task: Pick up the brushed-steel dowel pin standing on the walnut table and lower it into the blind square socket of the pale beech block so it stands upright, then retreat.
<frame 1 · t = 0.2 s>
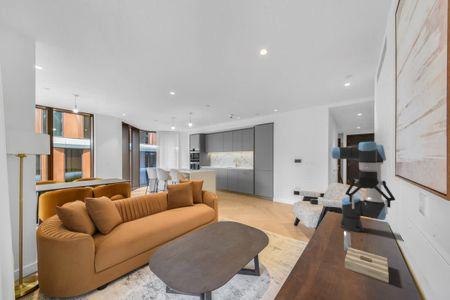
hand: (369, 210, 93), 27 cm above the table, fingers open, 13 cm apart
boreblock: (366, 267, 88), on the table
pin: (347, 251, 103), on the table
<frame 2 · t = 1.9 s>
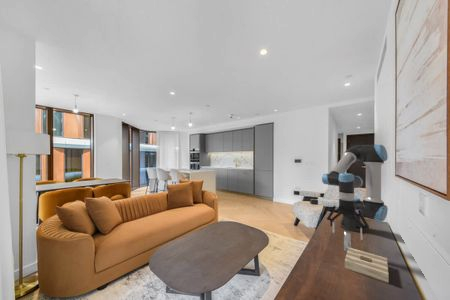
hand: (346, 235, 103), 9 cm above the table, fingers open, 13 cm apart
nothing on the table moved.
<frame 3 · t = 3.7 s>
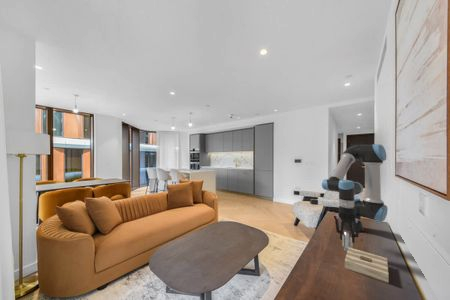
hand: (347, 246, 103), 3 cm above the table, fingers closed on pin, 3 cm apart
pin: (347, 250, 103), on the table, touching gripper
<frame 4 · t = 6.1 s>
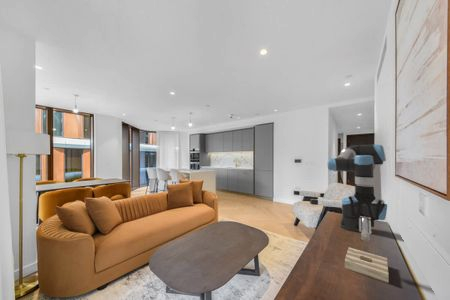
hand: (365, 231, 89), 18 cm above the table, fingers closed on pin, 3 cm apart
pin: (365, 239, 88), point 14 cm above the table, touching gripper
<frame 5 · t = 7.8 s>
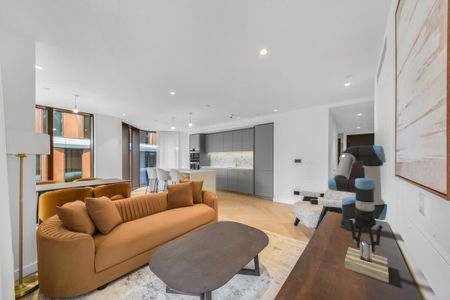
hand: (365, 256, 88), 6 cm above the table, fingers closed on pin, 3 cm apart
pin: (366, 264, 88), point 1 cm above the table, touching gripper
when the fingers open (5 cm above the table, at t = 8.5 s): pin stays where it is, resting on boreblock.
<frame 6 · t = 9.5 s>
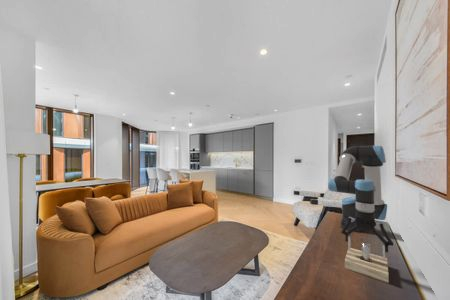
hand: (365, 253, 88), 7 cm above the table, fingers open, 13 cm apart
pin: (366, 265, 88), point 1 cm above the table, touching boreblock
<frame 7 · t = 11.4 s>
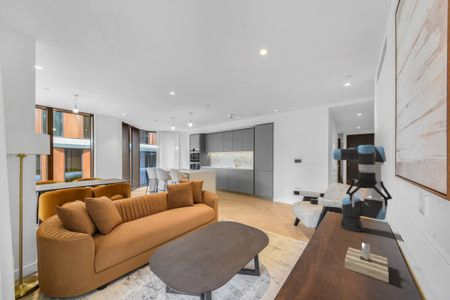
hand: (367, 208, 100), 26 cm above the table, fingers open, 13 cm apart
nothing on the table moved.
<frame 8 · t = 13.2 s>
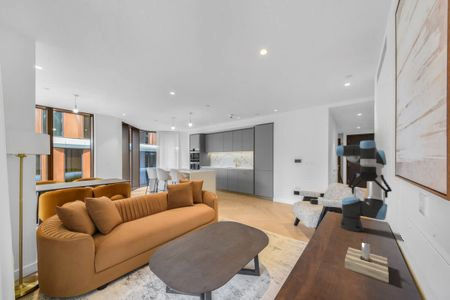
hand: (368, 201, 106), 29 cm above the table, fingers open, 13 cm apart
nothing on the table moved.
at the end: pin 0.0 cm off-centre on the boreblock, point 0.7 cm above the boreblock's base; pin tilted 0°; the gripper is holding nothing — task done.
